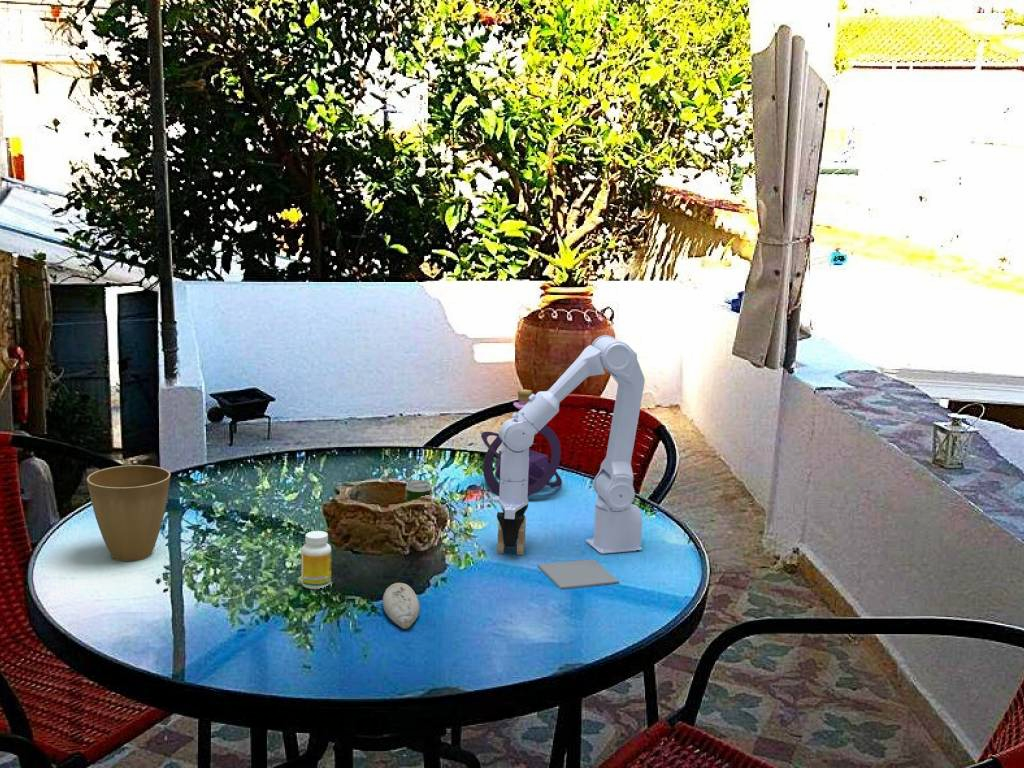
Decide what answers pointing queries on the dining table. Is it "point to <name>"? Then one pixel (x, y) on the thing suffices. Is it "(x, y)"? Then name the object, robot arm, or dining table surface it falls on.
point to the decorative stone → (401, 604)
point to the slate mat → (577, 574)
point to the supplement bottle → (316, 561)
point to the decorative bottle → (538, 462)
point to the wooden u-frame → (519, 541)
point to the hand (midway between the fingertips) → (511, 542)
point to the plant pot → (129, 508)
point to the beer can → (417, 489)
